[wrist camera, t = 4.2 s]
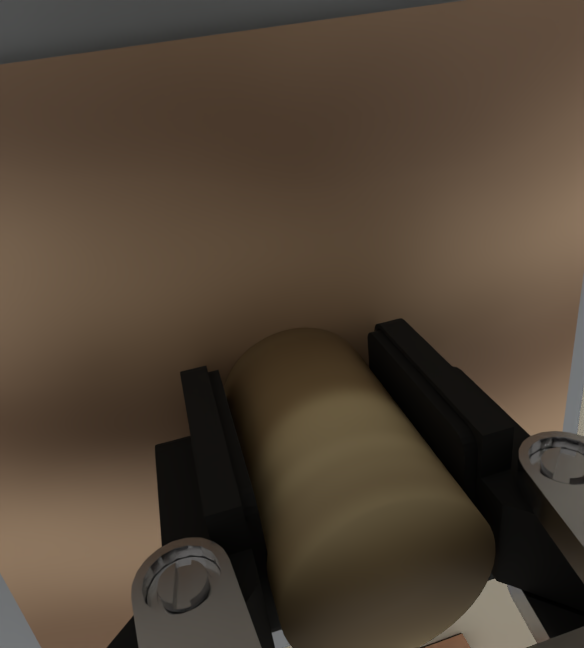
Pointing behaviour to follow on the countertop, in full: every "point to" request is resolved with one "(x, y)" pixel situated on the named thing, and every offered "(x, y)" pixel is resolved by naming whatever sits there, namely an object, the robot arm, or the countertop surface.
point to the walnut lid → (282, 297)
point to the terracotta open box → (451, 643)
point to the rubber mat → (167, 25)
